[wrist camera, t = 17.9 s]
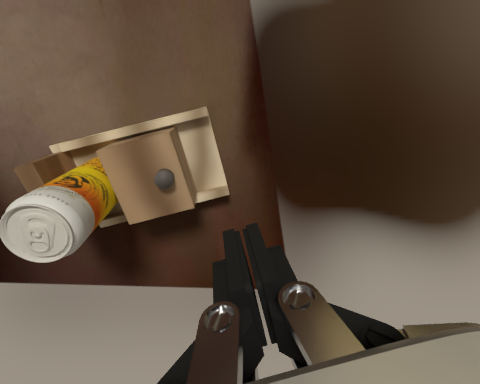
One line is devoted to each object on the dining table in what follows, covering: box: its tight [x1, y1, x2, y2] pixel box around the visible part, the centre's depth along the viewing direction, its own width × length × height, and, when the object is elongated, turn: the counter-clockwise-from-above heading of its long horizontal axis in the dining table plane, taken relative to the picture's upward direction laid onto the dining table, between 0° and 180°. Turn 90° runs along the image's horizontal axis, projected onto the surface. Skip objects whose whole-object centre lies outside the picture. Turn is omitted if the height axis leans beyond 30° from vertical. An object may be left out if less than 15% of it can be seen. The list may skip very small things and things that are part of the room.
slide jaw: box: [96, 126, 197, 225], centre depth 30 cm, size 8×9×7 cm
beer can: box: [0, 158, 118, 263], centre depth 27 cm, size 6×6×15 cm
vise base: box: [13, 107, 230, 228], centre depth 31 cm, size 20×12×8 cm, turn 103°
